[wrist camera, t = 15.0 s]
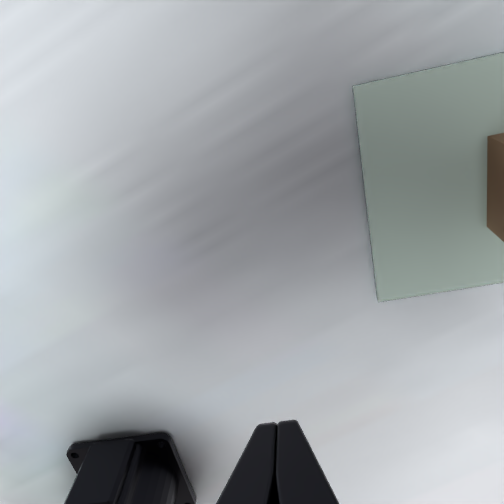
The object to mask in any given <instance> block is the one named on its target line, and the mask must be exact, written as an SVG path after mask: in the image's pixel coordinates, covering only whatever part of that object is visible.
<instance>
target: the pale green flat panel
mask: <svg viewBox="0 0 504 504" xmlns="http://www.w3.org/2000/svg"><path fill="white" fill-rule="evenodd" d="M353 94H354V102H355V111H356V120H357V128H358V137H359V146H360V154H361V163H362V172H363V180H364V189H365V198H366V206H367V215H368V223H369V232H370V241H371V249H372V258H373V267H374V275H375V284H376V293H377V300H378V302H384V301H390V300H397V299H403V298H409V297H416V296H422V295H428V294H435V293H441V292H447V291H454V290H460V289H466V288H473V287H479V286H485V285H492V284H498V283H504V242H503V241H502V240H501V239H500V238H499V237H498V236H496V235H495V234H494V233H493V232H492V231H491V230H490V229H489V228H488V227H487V136H490V135H495V134H500V133H504V52H502V53H498V54H493V55H489V56H484V57H480V58H476V59H471V60H467V61H462V62H458V63H453V64H449V65H444V66H440V67H435V68H431V69H426V70H422V71H417V72H413V73H408V74H404V75H399V76H395V77H391V78H386V79H382V80H377V81H373V82H368V83H364V84H359V85H355V86H353Z"/></svg>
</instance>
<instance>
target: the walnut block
mask: <svg viewBox="0 0 504 504" xmlns="http://www.w3.org/2000/svg"><path fill="white" fill-rule="evenodd" d="M487 227H488V228H489V229H490V230H491V231H492V232H493V233H494V234H495V235H496V236H498V237H499V238H500V239H501V240H502V241H503V242H504V133H500V134H495V135H490V136H487Z"/></svg>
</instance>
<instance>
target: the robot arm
mask: <svg viewBox="0 0 504 504" xmlns="http://www.w3.org/2000/svg"><path fill="white" fill-rule="evenodd" d="M67 457H68V459H69V461H70V462H71V464H72V466H73V468H74V469H75V471H76V473H77V476H76V478H75V480H74V483H73V485H72V487H71V489H70V492H69V494H68V496H67V498H66V501H65V503H64V504H196V497H195V495H194V492H193V490H192V487H191V485H190V482H189V480H188V478H187V475H186V473H185V470H184V468H183V466H182V463H181V461H180V458H179V456H178V454H177V451H176V449H175V446H174V444H173V441H172V439H171V437H170V436H169V435H167V434H165V433H158V434H151V435H143V436H135V437H127V438H119V439H111V440H103V441H95V442H88V443H80V444H73V445H71V446H70V447H69V449H68V451H67ZM216 504H339V502H338V500H337V498H336V496H335V494H334V492H333V490H332V488H331V486H330V484H329V482H328V480H327V478H326V476H325V474H324V472H323V470H322V468H321V467H320V465H319V463H318V461H317V459H316V457H315V455H314V453H313V451H312V449H311V447H310V445H309V443H308V441H307V439H306V437H305V435H304V433H303V431H302V429H301V427H300V425H299V423H298V421H296V420H288V421H281V422H279V423H278V425H277V423H275V422H272V423H264V424H259V425H258V426H257V427H256V428H255V430H254V432H253V434H252V436H251V438H250V440H249V442H248V444H247V446H246V448H245V449H244V451H243V453H242V455H241V457H240V459H239V461H238V463H237V465H236V467H235V469H234V471H233V472H232V474H231V476H230V478H229V480H228V482H227V484H226V486H225V488H224V490H223V492H222V493H221V495H220V497H219V499H218V501H217V503H216Z"/></svg>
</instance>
